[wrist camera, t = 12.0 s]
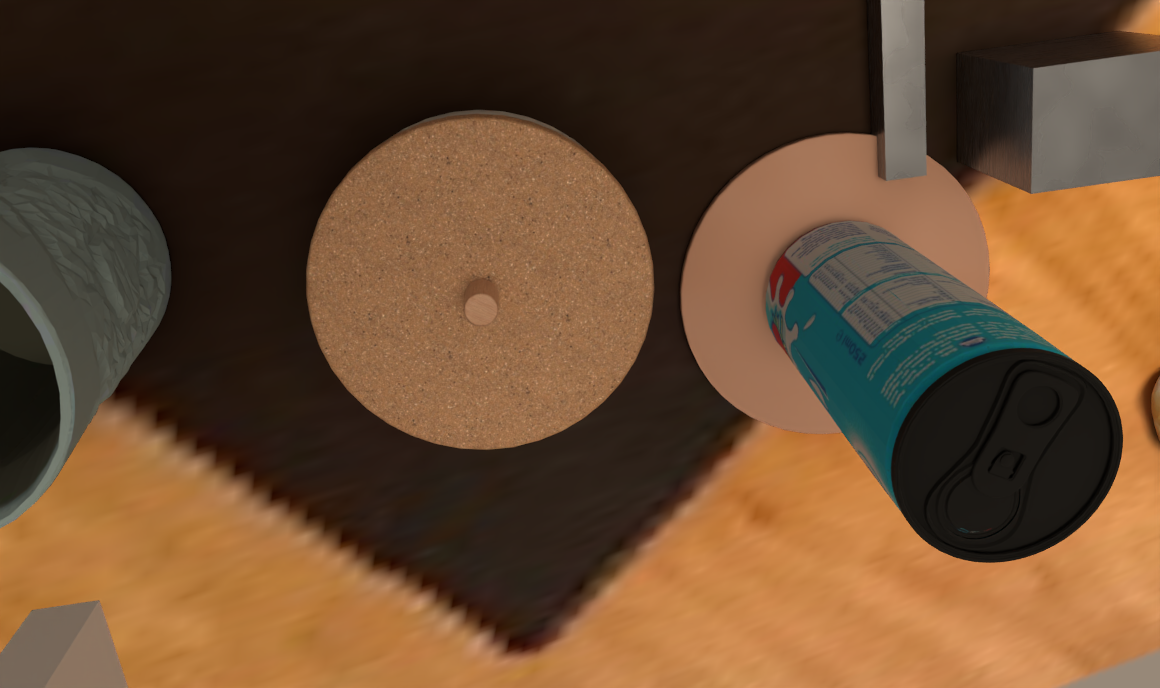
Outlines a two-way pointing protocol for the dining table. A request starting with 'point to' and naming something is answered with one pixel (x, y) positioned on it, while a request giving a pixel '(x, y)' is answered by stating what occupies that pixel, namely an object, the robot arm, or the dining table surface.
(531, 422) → the lidded jar
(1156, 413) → the pastry
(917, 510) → the beverage can
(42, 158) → the green plant pot
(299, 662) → the dining table surface
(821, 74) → the dining table surface
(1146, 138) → the dumbbell
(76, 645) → the robot arm
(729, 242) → the coaster
